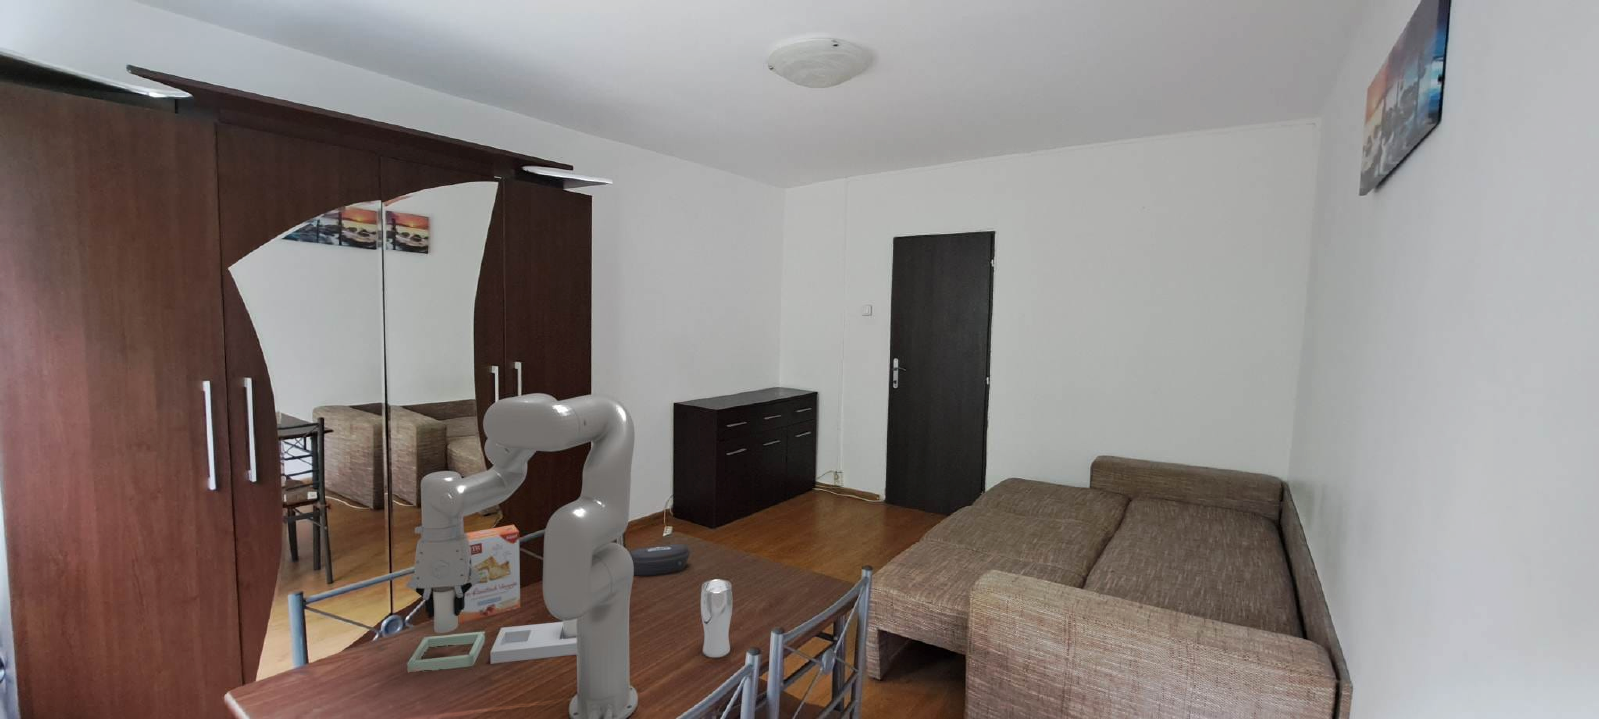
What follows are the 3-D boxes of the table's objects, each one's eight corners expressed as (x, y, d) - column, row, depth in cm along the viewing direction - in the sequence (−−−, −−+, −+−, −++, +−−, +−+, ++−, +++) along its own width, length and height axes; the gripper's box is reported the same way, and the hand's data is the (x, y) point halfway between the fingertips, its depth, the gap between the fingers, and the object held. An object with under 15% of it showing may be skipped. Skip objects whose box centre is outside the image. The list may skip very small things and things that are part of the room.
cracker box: (457, 628, 146) (454, 542, 144) (454, 617, 151) (451, 534, 149) (521, 611, 155) (519, 530, 153) (516, 602, 160) (514, 522, 158)
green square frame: (473, 670, 130) (472, 656, 130) (407, 677, 127) (407, 663, 127) (485, 643, 140) (485, 631, 140) (425, 650, 137) (424, 637, 137)
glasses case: (628, 580, 171) (627, 550, 173) (625, 578, 181) (624, 550, 183) (693, 570, 177) (691, 542, 179) (688, 569, 187) (686, 542, 189)
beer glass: (702, 661, 135) (702, 594, 134) (699, 643, 142) (699, 580, 140) (734, 656, 137) (734, 591, 135) (729, 639, 144) (729, 577, 142)
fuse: (583, 646, 138) (582, 598, 137) (561, 648, 137) (560, 601, 136) (585, 635, 142) (584, 589, 141) (564, 637, 141) (563, 591, 140)
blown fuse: (454, 632, 132) (453, 582, 130) (430, 634, 131) (429, 584, 129) (460, 621, 136) (459, 572, 135) (437, 623, 135) (436, 574, 134)
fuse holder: (590, 656, 136) (590, 641, 136) (490, 668, 131) (490, 652, 131) (594, 632, 146) (594, 618, 145) (501, 642, 141) (501, 627, 141)
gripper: (390, 540, 125) (394, 626, 127) (482, 535, 129) (484, 619, 131) (405, 526, 133) (407, 608, 135) (491, 522, 137) (492, 602, 139)
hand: (445, 612), depth 133 cm, fingers closed on blown fuse, 4 cm apart
